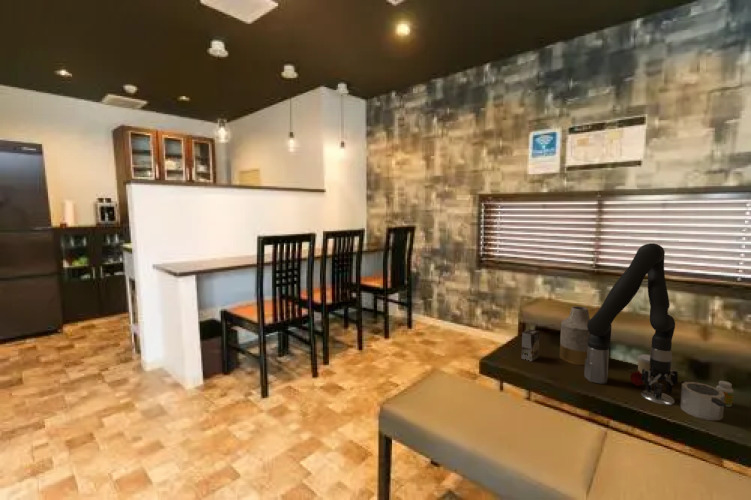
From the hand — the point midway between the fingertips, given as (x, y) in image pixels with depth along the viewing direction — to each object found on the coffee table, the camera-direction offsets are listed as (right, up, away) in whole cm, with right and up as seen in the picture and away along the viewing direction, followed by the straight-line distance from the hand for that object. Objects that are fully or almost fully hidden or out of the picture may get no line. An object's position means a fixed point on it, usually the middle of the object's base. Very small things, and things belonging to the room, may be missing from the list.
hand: (658, 391), depth 162 cm
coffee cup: (+8, -1, +17) cm, 19 cm away
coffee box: (-39, +1, +46) cm, 60 cm away
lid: (0, -3, 0) cm, 3 cm away
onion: (-1, -2, +12) cm, 12 cm away
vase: (-12, +1, +44) cm, 46 cm away
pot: (+9, -4, -11) cm, 15 cm away
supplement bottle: (+24, -3, -5) cm, 25 cm away
